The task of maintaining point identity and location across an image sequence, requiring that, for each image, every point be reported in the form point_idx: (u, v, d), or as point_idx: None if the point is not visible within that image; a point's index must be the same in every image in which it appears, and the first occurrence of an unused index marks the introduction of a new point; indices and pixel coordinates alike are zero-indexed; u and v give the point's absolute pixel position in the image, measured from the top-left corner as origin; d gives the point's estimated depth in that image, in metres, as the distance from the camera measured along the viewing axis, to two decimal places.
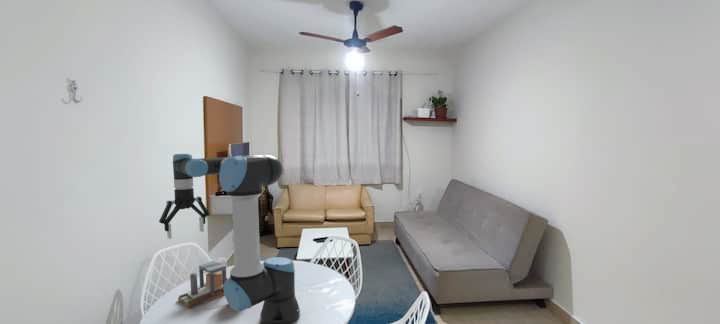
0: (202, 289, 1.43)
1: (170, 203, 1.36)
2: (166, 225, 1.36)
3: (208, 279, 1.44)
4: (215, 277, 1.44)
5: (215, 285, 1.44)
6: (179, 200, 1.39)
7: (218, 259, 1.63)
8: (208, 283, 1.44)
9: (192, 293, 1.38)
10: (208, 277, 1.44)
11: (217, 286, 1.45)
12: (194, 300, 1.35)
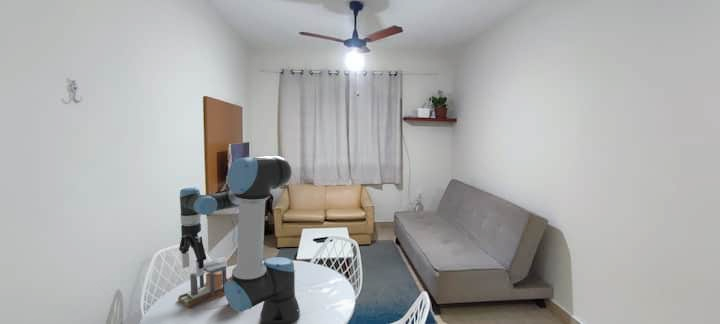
0: (202, 289, 1.43)
1: (182, 234, 1.40)
2: None
3: (208, 279, 1.44)
4: (215, 277, 1.44)
5: (215, 285, 1.44)
6: (186, 234, 1.38)
7: (218, 259, 1.63)
8: (208, 283, 1.44)
9: (192, 293, 1.38)
10: (208, 277, 1.44)
11: (217, 286, 1.45)
12: (194, 300, 1.35)
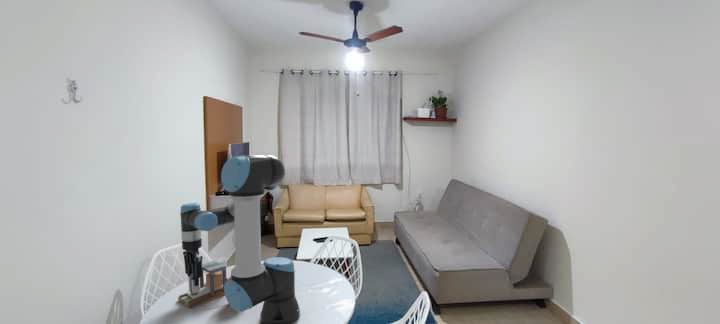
0: (202, 289, 1.43)
1: (183, 253, 1.40)
2: (189, 277, 1.40)
3: (208, 279, 1.44)
4: (215, 277, 1.44)
5: (215, 285, 1.44)
6: None
7: (218, 259, 1.63)
8: (208, 283, 1.44)
9: (192, 293, 1.38)
10: (208, 277, 1.44)
11: (217, 286, 1.45)
12: (194, 300, 1.35)
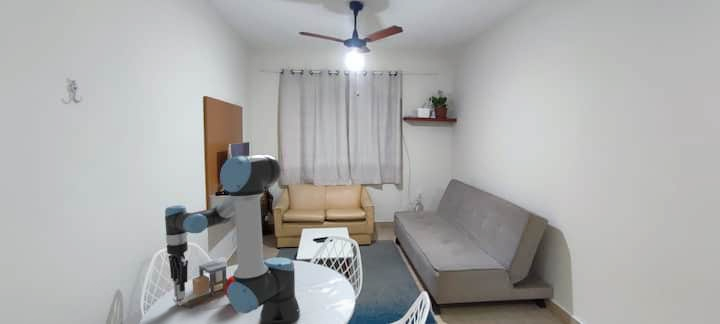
0: (188, 294, 1.38)
1: (169, 258, 1.35)
2: None
3: (195, 284, 1.39)
4: (202, 282, 1.39)
5: (202, 290, 1.39)
6: None
7: (218, 259, 1.63)
8: (195, 288, 1.39)
9: (177, 299, 1.33)
10: (195, 282, 1.39)
11: (204, 291, 1.40)
12: (194, 300, 1.35)
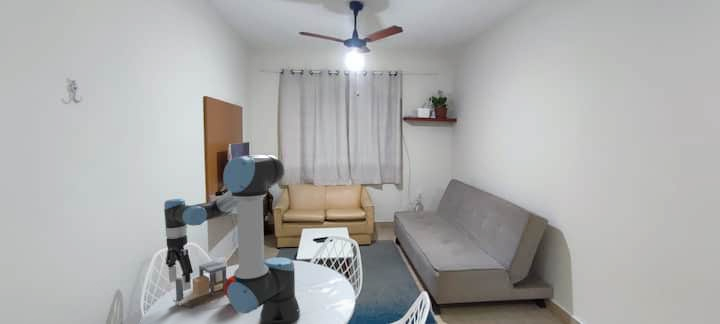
0: (188, 294, 1.38)
1: (168, 247, 1.35)
2: (169, 267, 1.37)
3: (195, 284, 1.39)
4: (202, 282, 1.39)
5: (202, 290, 1.39)
6: (172, 247, 1.33)
7: (218, 259, 1.63)
8: (195, 288, 1.39)
9: (177, 299, 1.33)
10: (195, 282, 1.39)
11: (204, 291, 1.40)
12: (194, 300, 1.35)
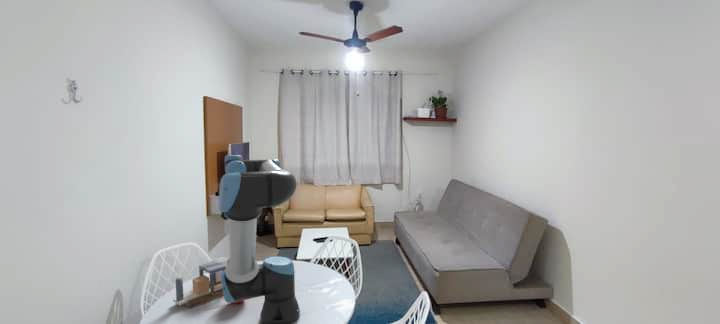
0: (188, 294, 1.38)
1: None
2: None
3: (195, 284, 1.39)
4: (202, 282, 1.39)
5: (202, 290, 1.39)
6: None
7: (218, 259, 1.63)
8: (195, 288, 1.39)
9: (177, 299, 1.33)
10: (195, 282, 1.39)
11: (204, 291, 1.40)
12: (194, 300, 1.35)
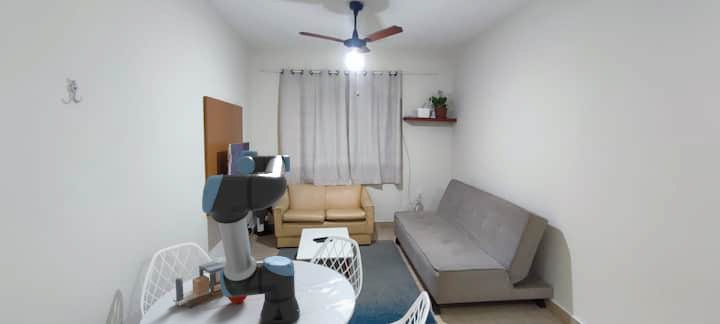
0: (188, 294, 1.38)
1: None
2: None
3: (195, 284, 1.39)
4: (202, 282, 1.39)
5: (202, 290, 1.39)
6: None
7: (218, 259, 1.63)
8: (195, 288, 1.39)
9: (177, 299, 1.33)
10: (195, 282, 1.39)
11: (204, 291, 1.40)
12: (194, 300, 1.35)
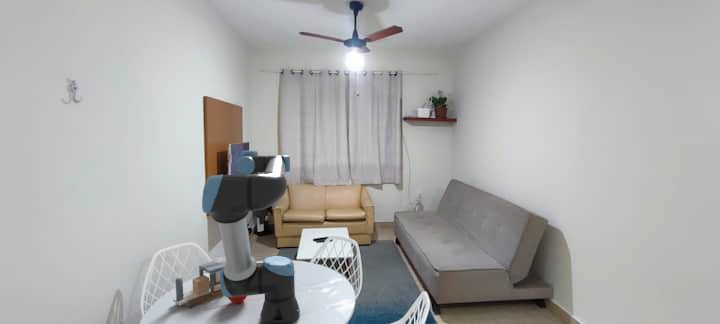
0: (188, 294, 1.38)
1: None
2: None
3: (195, 284, 1.39)
4: (202, 282, 1.39)
5: (202, 290, 1.39)
6: None
7: (218, 259, 1.63)
8: (195, 288, 1.39)
9: (177, 299, 1.33)
10: (195, 282, 1.39)
11: (204, 291, 1.40)
12: (194, 300, 1.35)
